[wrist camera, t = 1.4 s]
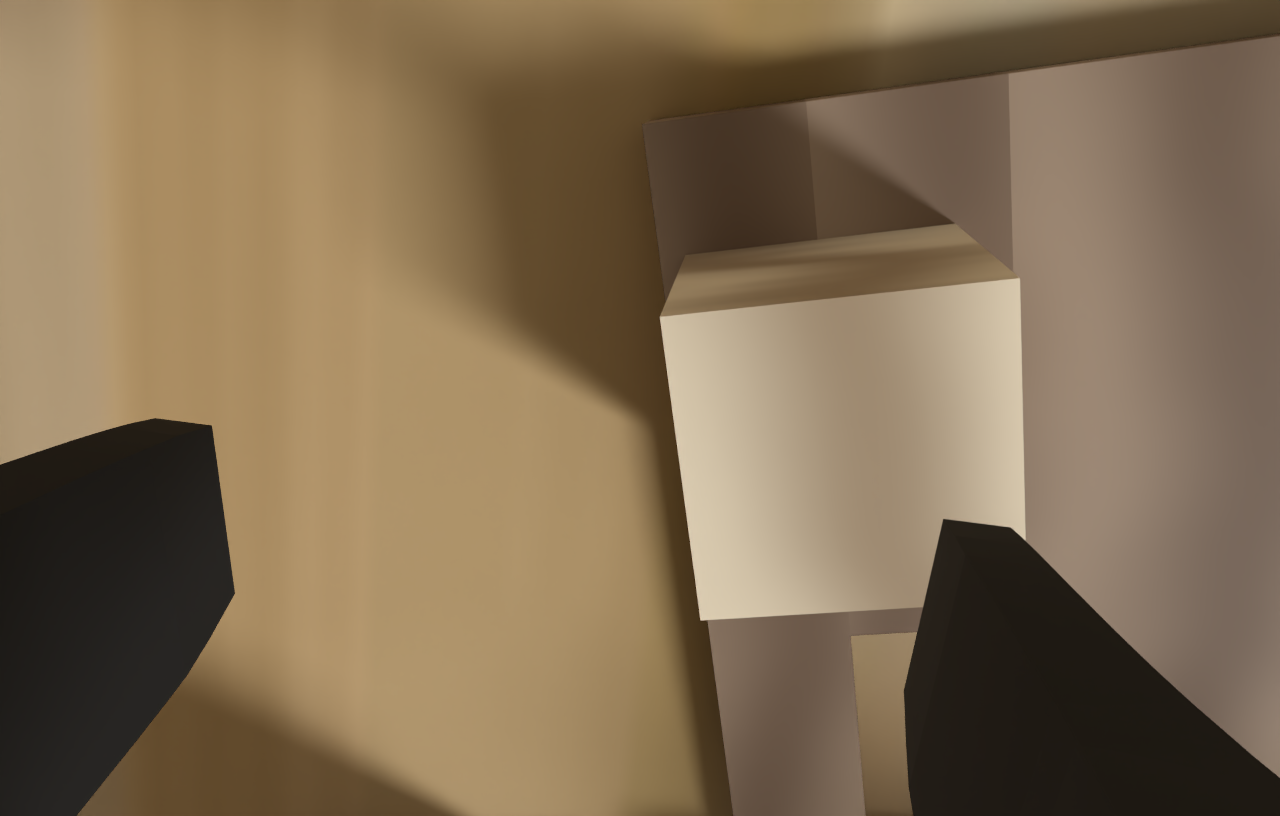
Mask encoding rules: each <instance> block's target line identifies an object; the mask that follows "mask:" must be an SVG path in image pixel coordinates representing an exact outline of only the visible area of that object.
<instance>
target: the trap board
mask: <svg viewBox="0 0 1280 816" xmlns="http://www.w3.org/2000/svg"><path fill="white" fill-rule="evenodd" d="M642 128H643V136H644V143H645V151H646V158H647V166H648V174H649V181H650V189H651V196H652V204H653V211H654V219H655V227H656V234H657V242H658V249H659V257H660V264H661V272H662V280H663V287H664V295H665V302H666V301H667V298H668V296H669V294H670V291H671V289H672V286H673V284H674V281H675V279H676V277H677V274H678V272H679V269H680V267H681V265H682V262H683V260H684V257H685V255H691V254H699V253H708V252H716V251H725V250H734V249H742V248H751V247H759V246H768V245H776V244H785V243H793V242H802V241H811V240H819V239H828V238H836V237H845V236H853V235H862V234H870V233H879V232H887V231H896V230H905V229H913V228H922V227H930V226H939V225H947V224H956V225H958V226H959V227H960V228H961V229H962V230H963V231H965V232H966V233H967V234H968V235H969V236H971V237H972V238H973V239H974V240H975V241H977V242H978V243H979V244H980V245H981V246H983V247H984V248H985V249H986V250H987V251H988V252H990V253H991V254H992V255H993V256H994V257H996V258H997V259H998V260H999V261H1000V262H1002V263H1003V264H1004V265H1005V266H1006V267H1007V268H1009V269H1010V270H1011V271H1012V272H1013V273H1015V274H1016V275H1017V276H1018V277H1019V278H1020V300H1021V346H1022V392H1023V439H1024V485H1025V532H1026V542H1027V543H1028V544H1029V545H1030V546H1031V547H1032V548H1033V549H1034V550H1036V551H1037V552H1038V553H1039V554H1040V555H1041V556H1042V557H1043V558H1044V559H1045V561H1046V562H1047V563H1048V564H1049V565H1050V566H1051V567H1052V568H1053V569H1054V570H1055V571H1056V572H1057V573H1058V574H1059V575H1060V576H1061V577H1062V578H1063V579H1064V580H1065V581H1066V582H1067V583H1068V584H1069V585H1070V586H1071V587H1072V588H1073V589H1074V590H1075V591H1076V592H1077V593H1078V594H1079V595H1080V596H1081V597H1082V598H1083V599H1084V600H1085V601H1086V602H1087V603H1088V604H1089V605H1090V606H1091V607H1092V608H1093V609H1094V610H1095V611H1096V612H1097V613H1098V614H1099V615H1100V616H1101V617H1102V618H1103V619H1104V620H1105V621H1106V622H1107V623H1108V624H1109V625H1110V626H1111V627H1112V628H1113V629H1114V630H1115V631H1116V632H1117V633H1118V634H1119V635H1120V636H1121V637H1122V638H1123V639H1124V640H1125V641H1126V642H1127V643H1128V644H1129V645H1131V646H1132V647H1133V648H1134V649H1135V650H1136V651H1137V652H1138V653H1139V654H1140V655H1141V656H1142V657H1143V658H1144V659H1145V660H1146V661H1147V662H1148V663H1149V664H1150V665H1151V666H1152V667H1154V668H1155V669H1156V670H1157V671H1158V672H1159V673H1160V674H1161V675H1162V676H1163V677H1164V678H1165V679H1166V680H1168V681H1169V682H1170V683H1171V684H1172V685H1173V686H1174V687H1175V688H1176V689H1177V690H1178V691H1180V692H1181V693H1182V694H1183V695H1184V696H1185V697H1186V698H1187V699H1188V700H1189V701H1190V702H1191V703H1193V704H1194V705H1195V706H1196V707H1197V708H1198V709H1200V710H1201V711H1202V712H1203V713H1204V714H1205V715H1206V716H1208V717H1209V718H1210V719H1211V720H1212V721H1213V722H1215V723H1216V724H1217V725H1218V726H1219V727H1220V728H1221V729H1223V730H1224V731H1225V732H1226V733H1227V734H1228V735H1230V736H1231V737H1232V738H1233V739H1234V740H1235V741H1236V742H1238V743H1239V744H1240V745H1241V746H1242V747H1243V748H1245V749H1246V750H1247V751H1248V752H1249V753H1250V754H1252V755H1253V756H1254V757H1255V758H1256V759H1257V760H1259V761H1260V762H1261V763H1262V764H1263V765H1265V766H1266V767H1267V768H1268V769H1270V770H1271V771H1272V772H1273V773H1275V774H1276V775H1277V776H1278V777H1280V33H1279V34H1272V35H1265V36H1258V37H1250V38H1243V39H1236V40H1229V41H1221V42H1214V43H1207V44H1200V45H1193V46H1185V47H1178V48H1171V49H1164V50H1156V51H1149V52H1142V53H1135V54H1128V55H1120V56H1113V57H1106V58H1099V59H1091V60H1084V61H1077V62H1070V63H1063V64H1055V65H1048V66H1041V67H1034V68H1026V69H1019V70H1012V71H1005V72H998V73H990V74H983V75H976V76H969V77H961V78H954V79H947V80H940V81H933V82H925V83H918V84H911V85H904V86H896V87H889V88H882V89H875V90H868V91H860V92H853V93H846V94H839V95H832V96H824V97H817V98H810V99H803V100H795V101H788V102H781V103H774V104H767V105H759V106H752V107H745V108H738V109H730V110H723V111H716V112H709V113H702V114H694V115H687V116H680V117H673V118H665V119H658V120H651V121H648V122H646V123H643V124H642ZM922 610H923V607H917V608H900V609H884V610H867V611H850V612H834V613H817V614H801V615H784V616H768V617H751V618H735V619H718V620H708V628H709V635H710V643H711V651H712V658H713V666H714V673H715V681H716V689H717V696H718V704H719V711H720V719H721V726H722V734H723V742H724V749H725V757H726V764H727V772H728V779H729V787H730V795H731V802H732V810H733V816H865V804H864V792H863V780H862V768H861V756H860V744H859V732H858V720H857V708H856V696H855V684H854V672H853V660H852V647H851V636H855V635H873V634H890V633H908V632H917V631H918V627H919V623H920V618H921V614H922Z"/></svg>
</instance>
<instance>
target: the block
mask: <svg viewBox="0 0 1280 816" xmlns="http://www.w3.org/2000/svg"><path fill="white" fill-rule="evenodd" d="M660 323H661V330H662V337H663V345H664V352H665V360H666V367H667V375H668V382H669V389H670V397H671V404H672V412H673V419H674V427H675V434H676V442H677V449H678V456H679V464H680V471H681V479H682V486H683V494H684V501H685V508H686V516H687V523H688V531H689V538H690V546H691V553H692V561H693V568H694V575H695V583H696V590H697V598H698V605H699V613H700V620H718V619H735V618H751V617H768V616H784V615H801V614H817V613H834V612H850V611H867V610H884V609H900V608H917V607H923V605H924V601H925V596H926V592H927V588H928V583H929V579H930V575H931V570H932V566H933V561H934V557H935V553H936V548H937V544H938V539H939V535H940V531H941V526H942V522H943V519H949V520H957V521H965V522H972V523H980V524H988V525H996V526H1004V527H1011V528H1012V529H1013V530H1014V531H1015V532H1016V533H1018V534H1019V535H1020V536H1021V537H1022V538H1023V539H1024V540H1025V541H1026V532H1025V485H1024V439H1023V392H1022V346H1021V300H1020V278H1019V277H1018V276H1017V275H1016V274H1015V273H1013V272H1012V271H1011V270H1010V269H1009V268H1007V267H1006V266H1005V265H1004V264H1003V263H1002V262H1000V261H999V260H998V259H997V258H996V257H994V256H993V255H992V254H991V253H990V252H988V251H987V250H986V249H985V248H984V247H983V246H981V245H980V244H979V243H978V242H977V241H975V240H974V239H973V238H972V237H971V236H969V235H968V234H967V233H966V232H965V231H963V230H962V229H961V228H960V227H959V226H958V225H956V224H947V225H939V226H930V227H922V228H913V229H905V230H896V231H887V232H879V233H870V234H862V235H853V236H845V237H836V238H828V239H819V240H811V241H802V242H793V243H785V244H776V245H768V246H759V247H751V248H742V249H734V250H725V251H716V252H708V253H699V254H691V255H685V257H684V260H683V262H682V265H681V267H680V269H679V272H678V274H677V277H676V279H675V281H674V284H673V286H672V289H671V291H670V294H669V296H668V298H667V301H666V303H665V306H664V308H663V310H662V313H661V315H660Z"/></svg>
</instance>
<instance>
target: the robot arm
mask: <svg viewBox="0 0 1280 816" xmlns="http://www.w3.org/2000/svg"><path fill="white" fill-rule="evenodd" d="M234 594H235V591H234V584H233V576H232V569H231V562H230V554H229V547H228V540H227V533H226V525H225V518H224V511H223V503H222V496H221V489H220V482H219V474H218V467H217V460H216V452H215V445H214V438H213V431H212V426H211V425H203V424H195V423H188V422H180V421H172V420H164V419H156V418H154V419H150V420H145V421H140V422H135V423H131V424H127V425H123V426H119V427H116V428H112V429H109V430H105V431H102V432H98V433H95V434H92V435H89V436H85V437H82V438H79V439H76V440H73V441H70V442H67V443H64V444H61V445H58V446H54V447H51V448H48V449H46V450H43V451H40V452H37V453H34V454H31V455H28V456H25V457H22V458H19V459H16V460H13V461H10V462H7V463H4V464H1V465H0V816H77V814H78V813H79V812H80V811H81V809H82V808H83V807H84V806H85V804H86V803H87V802H88V801H89V799H90V798H91V797H92V796H93V794H94V793H95V792H96V791H97V789H98V788H99V787H100V786H101V784H102V783H103V782H104V781H105V779H106V778H107V777H108V776H109V774H110V773H111V772H112V771H113V769H114V768H115V767H116V766H117V764H118V763H119V762H120V761H121V759H122V758H123V757H124V756H125V754H126V753H127V752H128V751H129V749H130V748H131V747H132V746H133V744H134V743H135V742H136V741H137V739H138V738H139V737H140V736H141V734H142V733H143V732H144V730H145V729H146V728H147V727H148V725H149V724H150V723H151V721H152V720H153V719H154V718H155V716H156V715H157V714H158V713H159V711H160V710H161V709H162V707H163V706H164V705H165V704H166V702H167V701H168V700H169V699H170V697H171V696H172V695H173V693H174V692H175V691H176V689H177V688H178V687H179V685H180V684H181V683H182V681H183V680H184V679H185V677H186V676H187V675H188V673H189V671H190V670H191V668H192V666H193V665H194V663H195V662H196V660H197V658H198V657H199V655H200V653H201V652H202V650H203V649H204V647H205V645H206V644H207V642H208V640H209V639H210V637H211V635H212V633H213V632H214V630H215V628H216V626H217V624H218V623H219V621H220V619H221V617H222V616H223V614H224V612H225V610H226V608H227V607H228V605H229V603H230V601H231V599H232V598H233V596H234ZM904 702H905V726H906V749H907V765H908V782H909V792H910V798H911V804H912V810H913V816H1280V777H1278V776H1277V775H1276V774H1275V773H1273V772H1272V771H1271V770H1270V769H1268V768H1267V767H1266V766H1265V765H1263V764H1262V763H1261V762H1260V761H1259V760H1257V759H1256V758H1255V757H1254V756H1253V755H1252V754H1250V753H1249V752H1248V751H1247V750H1246V749H1245V748H1243V747H1242V746H1241V745H1240V744H1239V743H1238V742H1236V741H1235V740H1234V739H1233V738H1232V737H1231V736H1230V735H1228V734H1227V733H1226V732H1225V731H1224V730H1223V729H1221V728H1220V727H1219V726H1218V725H1217V724H1216V723H1215V722H1213V721H1212V720H1211V719H1210V718H1209V717H1208V716H1206V715H1205V714H1204V713H1203V712H1202V711H1201V710H1200V709H1198V708H1197V707H1196V706H1195V705H1194V704H1193V703H1191V702H1190V701H1189V700H1188V699H1187V698H1186V697H1185V696H1184V695H1183V694H1182V693H1181V692H1180V691H1178V690H1177V689H1176V688H1175V687H1174V686H1173V685H1172V684H1171V683H1170V682H1169V681H1168V680H1166V679H1165V678H1164V677H1163V676H1162V675H1161V674H1160V673H1159V672H1158V671H1157V670H1156V669H1155V668H1154V667H1152V666H1151V665H1150V664H1149V663H1148V662H1147V661H1146V660H1145V659H1144V658H1143V657H1142V656H1141V655H1140V654H1139V653H1138V652H1137V651H1136V650H1135V649H1134V648H1133V647H1132V646H1131V645H1129V644H1128V643H1127V642H1126V641H1125V640H1124V639H1123V638H1122V637H1121V636H1120V635H1119V634H1118V633H1117V632H1116V631H1115V630H1114V629H1113V628H1112V627H1111V626H1110V625H1109V624H1108V623H1107V622H1106V621H1105V620H1104V619H1103V618H1102V617H1101V616H1100V615H1099V614H1098V613H1097V612H1096V611H1095V610H1094V609H1093V608H1092V607H1091V606H1090V605H1089V604H1088V603H1087V602H1086V601H1085V600H1084V599H1083V598H1082V597H1081V596H1080V595H1079V594H1078V593H1077V592H1076V591H1075V590H1074V589H1073V588H1072V587H1071V586H1070V585H1069V584H1068V583H1067V582H1066V581H1065V580H1064V579H1063V578H1062V577H1061V576H1060V575H1059V574H1058V573H1057V572H1056V571H1055V570H1054V569H1053V568H1052V567H1051V566H1050V565H1049V564H1048V563H1047V562H1046V561H1045V559H1044V558H1043V557H1042V556H1041V555H1040V554H1039V553H1038V552H1037V551H1036V550H1034V549H1033V548H1032V547H1031V546H1030V545H1029V544H1028V543H1027V542H1026V541H1025V540H1024V539H1023V538H1022V537H1021V536H1020V535H1019V534H1018V533H1016V532H1015V531H1014V530H1013V529H1012V528H1011V527H1004V526H996V525H988V524H980V523H972V522H965V521H957V520H949V519H943V522H942V526H941V531H940V535H939V539H938V544H937V548H936V553H935V557H934V561H933V566H932V570H931V575H930V579H929V583H928V588H927V592H926V596H925V601H924V605H923V610H922V614H921V618H920V623H919V627H918V631H917V636H916V640H915V645H914V649H913V653H912V658H911V662H910V667H909V671H908V675H907V680H906V684H905V688H904Z"/></svg>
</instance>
